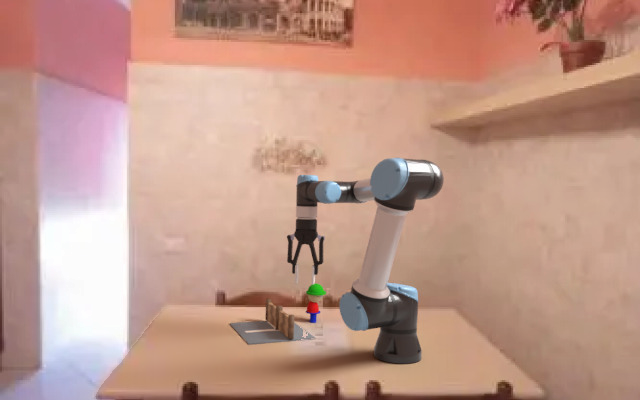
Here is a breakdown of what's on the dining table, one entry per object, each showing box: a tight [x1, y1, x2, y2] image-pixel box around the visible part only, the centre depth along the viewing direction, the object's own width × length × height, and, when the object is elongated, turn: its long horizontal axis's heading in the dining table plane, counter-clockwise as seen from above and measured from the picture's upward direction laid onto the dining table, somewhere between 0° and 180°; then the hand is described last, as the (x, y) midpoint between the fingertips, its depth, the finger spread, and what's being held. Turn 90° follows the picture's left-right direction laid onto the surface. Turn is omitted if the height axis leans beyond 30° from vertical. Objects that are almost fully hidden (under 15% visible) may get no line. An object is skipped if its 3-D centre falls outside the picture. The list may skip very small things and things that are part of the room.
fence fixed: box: [265, 298, 284, 330], centre depth 216 cm, size 16×2×9 cm, turn 22°
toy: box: [305, 283, 327, 324], centre depth 225 cm, size 8×8×15 cm
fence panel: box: [278, 310, 295, 339], centre depth 202 cm, size 13×2×8 cm, turn 22°
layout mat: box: [229, 320, 316, 346], centre depth 209 cm, size 28×24×1 cm
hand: (304, 283), depth 204 cm, fingers open, 5 cm apart
